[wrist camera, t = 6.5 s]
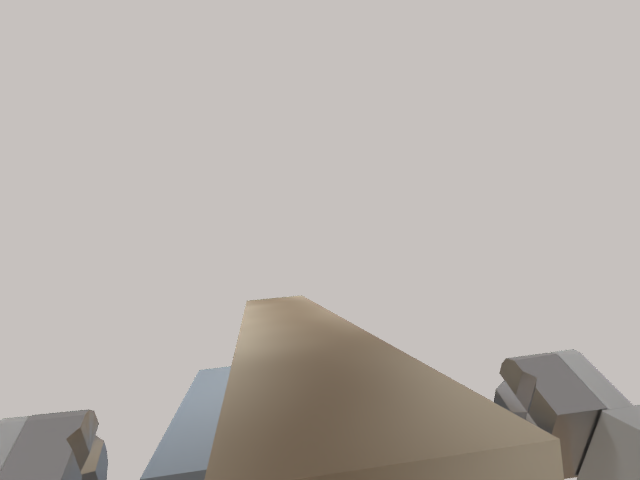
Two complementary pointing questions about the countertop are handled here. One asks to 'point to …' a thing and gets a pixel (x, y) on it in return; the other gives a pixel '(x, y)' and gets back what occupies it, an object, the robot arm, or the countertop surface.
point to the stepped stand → (191, 430)
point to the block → (358, 410)
